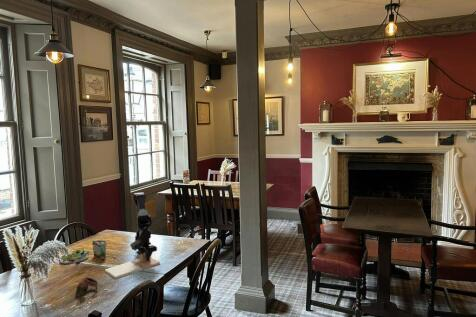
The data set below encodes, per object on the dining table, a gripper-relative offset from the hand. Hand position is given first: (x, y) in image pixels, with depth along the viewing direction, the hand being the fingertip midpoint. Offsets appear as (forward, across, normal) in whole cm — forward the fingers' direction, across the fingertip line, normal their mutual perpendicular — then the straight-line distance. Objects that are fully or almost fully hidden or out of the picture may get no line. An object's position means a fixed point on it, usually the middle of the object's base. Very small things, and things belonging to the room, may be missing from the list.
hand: (145, 260), depth 207 cm
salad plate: (+3, -42, -27) cm, 50 cm away
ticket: (+2, 0, -14) cm, 14 cm away
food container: (+2, -31, -14) cm, 34 cm away
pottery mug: (+3, +12, -40) cm, 41 cm away
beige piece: (+2, 0, 0) cm, 2 cm away
